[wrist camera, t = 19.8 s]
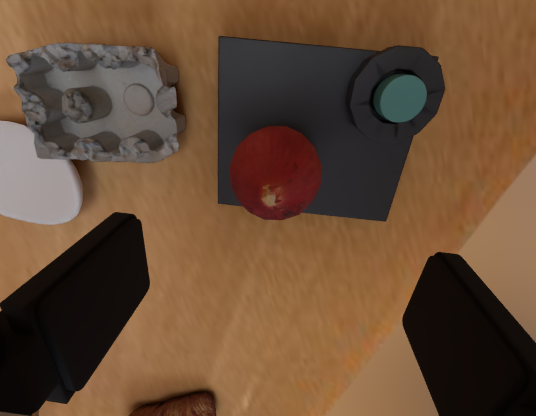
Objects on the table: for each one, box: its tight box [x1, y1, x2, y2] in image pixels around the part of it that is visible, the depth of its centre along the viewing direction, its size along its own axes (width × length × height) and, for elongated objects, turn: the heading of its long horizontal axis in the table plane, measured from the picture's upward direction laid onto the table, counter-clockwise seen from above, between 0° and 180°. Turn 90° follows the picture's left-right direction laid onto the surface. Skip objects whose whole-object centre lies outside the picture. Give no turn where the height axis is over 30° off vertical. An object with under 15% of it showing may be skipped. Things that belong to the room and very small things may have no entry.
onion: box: [229, 126, 321, 220], centre depth 17 cm, size 6×6×8 cm
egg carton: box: [6, 43, 186, 163], centre depth 20 cm, size 11×8×4 cm
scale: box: [218, 36, 445, 221], centre depth 20 cm, size 14×12×3 cm
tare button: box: [373, 74, 427, 123], centre depth 17 cm, size 3×3×2 cm
